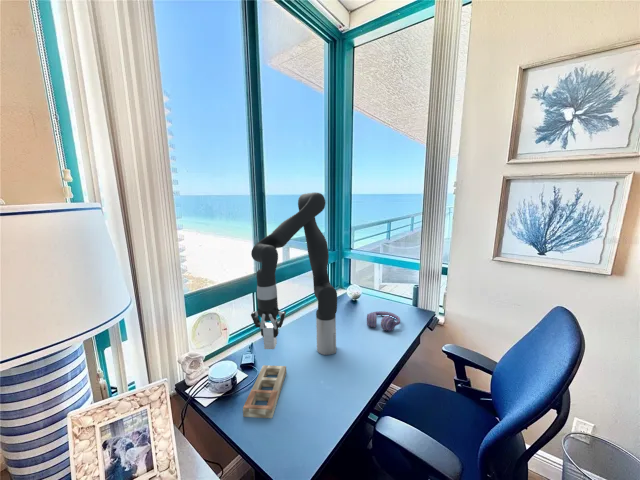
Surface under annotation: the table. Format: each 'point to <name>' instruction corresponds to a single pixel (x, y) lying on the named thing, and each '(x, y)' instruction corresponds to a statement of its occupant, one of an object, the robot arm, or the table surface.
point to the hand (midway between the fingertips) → (269, 336)
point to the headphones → (383, 320)
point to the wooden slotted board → (265, 392)
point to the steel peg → (269, 336)
